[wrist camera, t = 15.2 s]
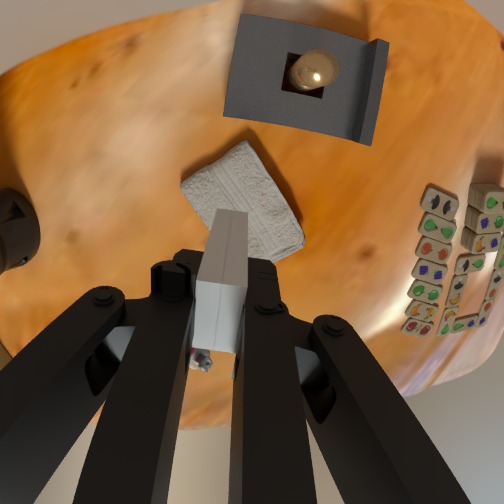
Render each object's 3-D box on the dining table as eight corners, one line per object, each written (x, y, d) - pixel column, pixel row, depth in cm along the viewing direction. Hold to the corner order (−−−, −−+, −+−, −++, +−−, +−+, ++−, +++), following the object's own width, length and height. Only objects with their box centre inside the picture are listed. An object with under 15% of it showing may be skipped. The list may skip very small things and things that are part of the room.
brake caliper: (178, 296, 48) (203, 364, 42) (218, 305, 57) (243, 363, 51) (137, 328, 51) (156, 390, 45) (179, 333, 60) (198, 387, 54)
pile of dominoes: (419, 181, 43) (437, 191, 38) (519, 184, 42) (536, 192, 37) (393, 344, 58) (401, 362, 53) (483, 322, 57) (494, 336, 52)
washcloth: (244, 274, 50) (244, 284, 47) (177, 182, 43) (172, 188, 40) (309, 237, 47) (313, 246, 44) (247, 137, 40) (246, 138, 37)
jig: (225, 115, 38) (220, 116, 32) (241, 22, 32) (240, 6, 26) (352, 140, 40) (370, 146, 33) (369, 50, 33) (389, 42, 27)
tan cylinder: (283, 89, 37) (296, 80, 26) (287, 62, 35) (302, 44, 24) (312, 94, 37) (335, 90, 26) (316, 68, 35) (342, 54, 24)
